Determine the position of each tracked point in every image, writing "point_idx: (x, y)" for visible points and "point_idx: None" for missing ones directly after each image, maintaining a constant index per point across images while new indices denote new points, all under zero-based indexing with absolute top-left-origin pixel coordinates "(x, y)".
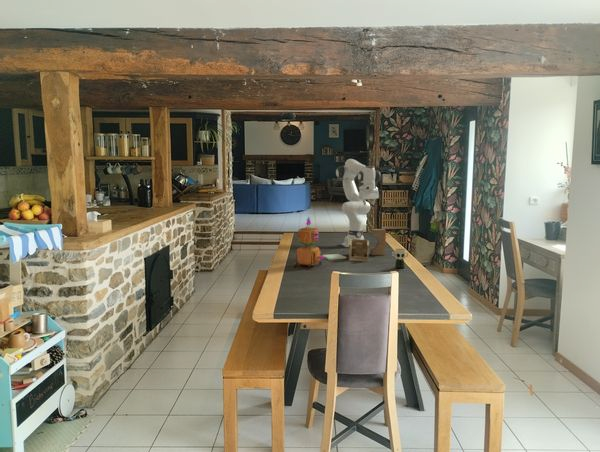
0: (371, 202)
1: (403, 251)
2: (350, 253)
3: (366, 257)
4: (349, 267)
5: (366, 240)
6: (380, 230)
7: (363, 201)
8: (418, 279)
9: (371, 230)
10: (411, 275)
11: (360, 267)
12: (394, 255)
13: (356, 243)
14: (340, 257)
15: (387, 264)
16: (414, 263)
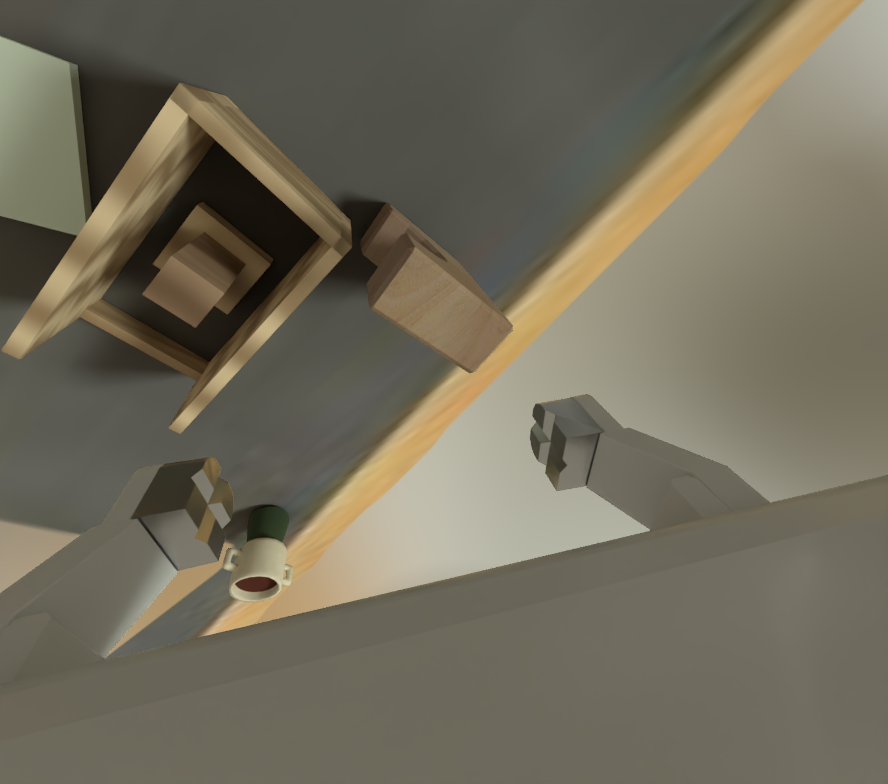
0: (564, 439)
1: (256, 596)
2: (65, 326)
3: (193, 378)
4: (3, 435)
5: (325, 239)
6: (435, 349)
7: (28, 611)
8: (213, 618)
9: (381, 281)
10: (228, 588)
11: (78, 456)
12: (235, 555)
13: (153, 283)
14: (22, 217)
15: (265, 459)
16: (388, 484)
